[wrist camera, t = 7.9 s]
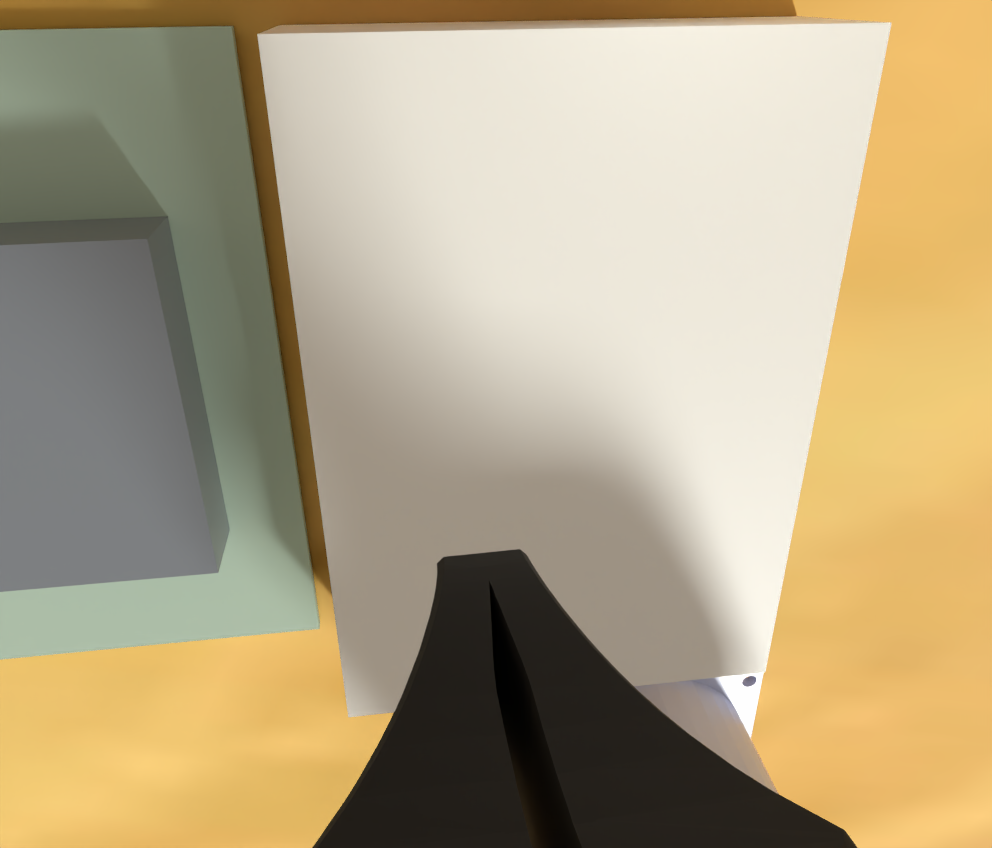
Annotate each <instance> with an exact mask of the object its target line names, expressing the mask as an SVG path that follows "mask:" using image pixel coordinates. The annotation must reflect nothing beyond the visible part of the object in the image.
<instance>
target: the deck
mask: <svg viewBox="0 0 992 848" xmlns="http://www.w3.org/2000/svg"><path fill="white" fill-rule="evenodd" d="M890 28H891V23H889V22H874V21H860V20H845V19H831V18H816V17H802V16H784V17H725V18H666V19H607V20H548V21H488V22H429V23H370V24H311V25H279V26H276V27H274V28H271V29H269V30H266V31H264V32H261V33H259V34H257V36H258V43H259V51H260V58H261V66H262V73H263V81H264V88H265V96H266V103H267V111H268V118H269V126H270V133H271V141H272V148H273V156H274V163H275V171H276V178H277V186H278V193H279V201H280V208H281V216H282V223H283V231H284V238H285V246H286V253H287V261H288V268H289V276H290V283H291V291H292V298H293V306H294V313H295V321H296V328H297V336H298V343H299V351H300V358H301V366H302V373H303V380H304V388H305V395H306V403H307V410H308V418H309V425H310V433H311V440H312V448H313V455H314V463H315V470H316V478H317V485H318V493H319V500H320V508H321V515H322V523H323V530H324V538H325V545H326V553H327V560H328V568H329V575H330V583H331V590H332V598H333V605H334V613H335V620H336V628H337V635H338V643H339V650H340V658H341V665H342V673H343V680H344V688H345V695H346V703H347V710H348V717H355V716H365V715H374V714H383V713H392V712H395V710H396V707H397V705H398V703H399V701H400V698H401V696H402V694H403V691H404V689H405V686H406V684H407V681H408V679H409V676H410V674H411V671H412V668H413V666H414V663H415V661H416V658H417V655H418V653H419V650H420V647H421V643H422V640H423V637H424V633H425V630H426V627H427V623H428V620H429V617H430V613H431V608H432V604H433V599H434V594H435V589H436V581H437V563H438V562H439V561H440V560H441V559H442V558H443V557H447V556H456V555H466V554H476V553H486V552H496V551H506V550H516V549H520V550H522V551H523V552H524V553H525V554H527V556H528V558H529V560H530V561H531V563H532V564H533V566H534V568H535V569H536V571H537V572H538V574H539V575H540V577H541V578H542V580H543V581H544V583H545V584H546V586H547V587H548V588H549V590H550V591H551V593H552V594H553V595H554V597H555V598H556V599H557V601H558V602H559V603H560V605H561V606H562V607H563V609H564V610H565V611H566V612H567V614H568V615H569V616H570V617H571V618H572V620H573V621H574V622H575V623H576V624H577V626H578V627H579V628H580V629H581V631H582V632H583V633H584V634H585V635H586V637H587V638H588V639H589V640H590V641H591V642H592V643H593V644H594V646H595V647H596V648H597V649H598V650H599V651H600V652H601V653H602V654H603V655H604V657H605V658H606V659H607V660H608V661H609V662H610V663H611V664H612V665H613V666H614V667H615V668H616V669H617V670H618V671H619V672H620V673H621V674H622V675H623V676H624V677H625V678H626V679H627V680H628V681H629V682H630V683H631V684H632V685H633V686H642V685H651V684H661V683H670V682H679V681H688V680H698V679H707V678H716V677H725V676H735V675H744V674H753V673H763V672H765V671H766V666H767V661H768V655H769V650H770V645H771V640H772V635H773V630H774V625H775V619H776V614H777V609H778V604H779V599H780V594H781V589H782V583H783V578H784V573H785V568H786V563H787V558H788V553H789V547H790V542H791V537H792V532H793V527H794V522H795V517H796V511H797V506H798V501H799V496H800V491H801V486H802V481H803V475H804V470H805V465H806V460H807V455H808V450H809V445H810V439H811V434H812V429H813V424H814V419H815V414H816V409H817V403H818V398H819V393H820V388H821V383H822V378H823V373H824V367H825V362H826V357H827V352H828V347H829V342H830V337H831V331H832V326H833V321H834V316H835V311H836V306H837V300H838V295H839V290H840V285H841V280H842V275H843V270H844V264H845V259H846V254H847V249H848V244H849V239H850V234H851V228H852V223H853V218H854V213H855V208H856V203H857V198H858V192H859V187H860V182H861V177H862V172H863V167H864V162H865V156H866V151H867V146H868V141H869V136H870V131H871V126H872V120H873V115H874V110H875V105H876V100H877V95H878V90H879V84H880V79H881V74H882V69H883V64H884V59H885V54H886V48H887V43H888V38H889V33H890Z"/></svg>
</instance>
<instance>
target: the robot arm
mask: <svg viewBox="0 0 992 848" xmlns="http://www.w3.org/2000/svg"><path fill="white" fill-rule="evenodd" d="M763 673H764V672H763ZM763 673H753V674H744V675H735V676H725V677H716V678H707V679H698V680H688V681H679V682H670V683H661V684H651V685H642V686H633V685H632V684H631V683H630V682H629V681H628V680H627V679H626V678H625V677H624V676H623V675H622V674H621V673H620V672H619V671H618V670H617V669H616V668H615V667H614V666H613V665H612V664H611V663H610V662H609V661H608V660H607V659H606V658H605V657H604V655H603V654H602V653H601V652H600V651H599V650H598V649H597V648H596V647H595V646H594V644H593V643H592V642H591V641H590V640H589V639H588V638H587V637H586V635H585V634H584V633H583V632H582V631H581V629H580V628H579V627H578V626H577V624H576V623H575V622H574V621H573V620H572V618H571V617H570V616H569V615H568V614H567V612H566V611H565V610H564V609H563V607H562V606H561V605H560V603H559V602H558V601H557V599H556V598H555V597H554V595H553V594H552V593H551V591H550V590H549V588H548V587H547V586H546V584H545V583H544V581H543V580H542V578H541V577H540V575H539V574H538V572H537V571H536V569H535V568H534V566H533V564H532V563H531V561H530V560H529V558H528V556H527V554H525V553H524V552H523V551H522V550H520V549H516V550H506V551H496V552H486V553H476V554H466V555H456V556H447V557H443V558H442V559H441V560H440V561H439V562H438V563H437V581H436V589H435V594H434V599H433V604H432V608H431V613H430V617H429V620H428V623H427V627H426V630H425V633H424V637H423V640H422V643H421V647H420V650H419V653H418V655H417V658H416V661H415V663H414V666H413V668H412V671H411V674H410V676H409V679H408V681H407V684H406V686H405V689H404V691H403V694H402V696H401V698H400V701H399V703H398V705H397V707H396V710H395V712H394V714H393V716H392V718H391V720H390V722H389V724H388V726H387V728H386V730H385V732H384V734H383V736H382V738H381V740H380V742H379V744H378V746H377V748H376V749H375V751H374V753H373V755H372V756H371V758H370V760H369V762H368V763H367V765H366V767H365V769H364V771H363V772H362V774H361V776H360V778H359V779H358V781H357V782H356V784H355V786H354V787H353V789H352V791H351V792H350V794H349V795H348V797H347V799H346V800H345V802H344V803H343V804H342V806H341V807H340V809H339V810H338V812H337V813H336V815H335V816H334V817H333V819H332V820H331V822H330V823H329V825H328V826H327V828H326V829H325V831H324V832H323V833H322V835H321V836H320V838H319V839H318V841H317V842H316V844H315V845H314V846H313V848H857V847H856V845H855V844H854V842H853V841H852V840H851V838H850V837H849V836H848V834H847V833H846V831H845V830H843V829H841V828H840V827H838V826H836V825H834V824H832V823H830V822H829V821H827V820H825V819H823V818H821V817H819V816H817V815H816V814H814V813H812V812H810V811H808V810H806V809H805V808H803V807H801V806H799V805H797V804H795V803H793V802H792V801H790V800H788V799H786V798H784V797H782V796H781V795H779V794H778V792H777V790H776V788H775V786H774V784H773V782H772V780H771V778H770V776H769V774H768V772H767V770H766V768H765V766H764V764H763V762H762V760H761V758H760V756H759V754H758V752H757V750H756V748H755V746H754V744H753V742H752V740H751V735H752V730H753V725H754V720H755V715H756V709H757V704H758V699H759V694H760V689H761V683H762V678H763ZM748 676H749V677H748ZM746 677H747V678H746Z"/></svg>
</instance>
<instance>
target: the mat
mask: <svg viewBox="0 0 992 848" xmlns="http://www.w3.org/2000/svg"><path fill="white" fill-rule="evenodd" d="M159 216H168V219H169V224H170V229H171V234H172V239H173V245H174V250H175V255H176V260H177V265H178V270H179V275H180V280H181V285H182V290H183V295H184V300H185V305H186V310H187V315H188V320H189V325H190V330H191V335H192V340H193V346H194V351H195V356H196V361H197V366H198V371H199V376H200V381H201V386H202V391H203V396H204V401H205V406H206V411H207V416H208V421H209V426H210V431H211V436H212V441H213V446H214V452H215V457H216V462H217V467H218V472H219V477H220V482H221V487H222V492H223V497H224V502H225V507H226V512H227V517H228V522H229V527H230V531H229V535H228V539H227V542H226V546H225V550H224V554H223V557H222V561H221V565H220V569H219V572H218V573H212V574H201V575H189V576H178V577H166V578H155V579H143V580H132V581H120V582H109V583H97V584H86V585H75V586H63V587H52V588H40V589H29V590H17V591H6V592H0V659H10V658H21V657H31V656H41V655H52V654H62V653H73V652H83V651H93V650H104V649H114V648H125V647H135V646H145V645H156V644H166V643H177V642H187V641H198V640H208V639H218V638H229V637H239V636H250V635H260V634H270V633H281V632H291V631H302V630H312V629H320V619H319V612H318V605H317V598H316V591H315V584H314V577H313V570H312V563H311V557H310V550H309V543H308V536H307V529H306V522H305V515H304V508H303V501H302V495H301V488H300V481H299V474H298V467H297V460H296V453H295V446H294V440H293V433H292V426H291V419H290V412H289V405H288V398H287V391H286V384H285V378H284V371H283V364H282V357H281V350H280V343H279V336H278V329H277V323H276V316H275V309H274V302H273V295H272V288H271V281H270V274H269V267H268V261H267V254H266V247H265V240H264V233H263V226H262V219H261V212H260V205H259V199H258V192H257V185H256V178H255V171H254V164H253V157H252V150H251V144H250V137H249V130H248V123H247V116H246V109H245V102H244V95H243V88H242V82H241V75H240V68H239V61H238V54H237V47H236V40H235V33H234V27H233V26H192V27H133V28H74V29H15V30H0V223H11V222H36V221H60V220H85V219H110V218H134V217H159Z"/></svg>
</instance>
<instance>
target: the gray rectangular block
mask: <svg viewBox="0 0 992 848" xmlns="http://www.w3.org/2000/svg"><path fill="white" fill-rule="evenodd" d="M229 531H230V527H229V522H228V517H227V512H226V507H225V502H224V497H223V492H222V487H221V482H220V477H219V472H218V467H217V462H216V457H215V452H214V446H213V441H212V436H211V431H210V426H209V421H208V416H207V411H206V406H205V401H204V396H203V391H202V386H201V381H200V376H199V371H198V366H197V361H196V356H195V351H194V346H193V340H192V335H191V330H190V325H189V320H188V315H187V310H186V305H185V300H184V295H183V290H182V285H181V280H180V275H179V270H178V265H177V260H176V255H175V250H174V245H173V239H172V234H171V229H170V224H169V219H168V216H159V217H134V218H110V219H85V220H60V221H36V222H11V223H0V592H6V591H17V590H29V589H40V588H52V587H63V586H75V585H86V584H97V583H109V582H120V581H132V580H143V579H155V578H166V577H178V576H189V575H201V574H212V573H218V572H219V569H220V565H221V561H222V557H223V554H224V550H225V546H226V542H227V539H228V535H229Z"/></svg>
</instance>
